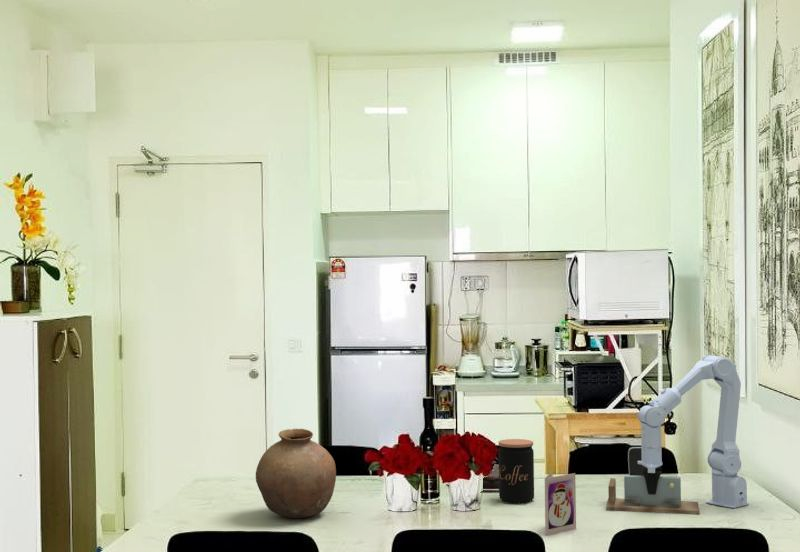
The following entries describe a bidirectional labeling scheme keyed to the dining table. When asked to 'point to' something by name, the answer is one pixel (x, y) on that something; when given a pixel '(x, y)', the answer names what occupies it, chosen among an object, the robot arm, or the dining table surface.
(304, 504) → the pottery
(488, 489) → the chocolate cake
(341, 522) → the dining table surface
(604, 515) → the dining table surface
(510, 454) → the coffee jar
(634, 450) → the battery charger
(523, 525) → the dining table surface
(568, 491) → the greeting card
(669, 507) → the hinge rail
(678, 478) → the door panel
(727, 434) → the robot arm
